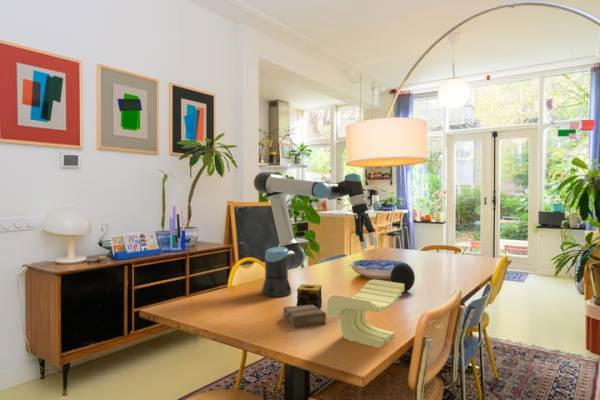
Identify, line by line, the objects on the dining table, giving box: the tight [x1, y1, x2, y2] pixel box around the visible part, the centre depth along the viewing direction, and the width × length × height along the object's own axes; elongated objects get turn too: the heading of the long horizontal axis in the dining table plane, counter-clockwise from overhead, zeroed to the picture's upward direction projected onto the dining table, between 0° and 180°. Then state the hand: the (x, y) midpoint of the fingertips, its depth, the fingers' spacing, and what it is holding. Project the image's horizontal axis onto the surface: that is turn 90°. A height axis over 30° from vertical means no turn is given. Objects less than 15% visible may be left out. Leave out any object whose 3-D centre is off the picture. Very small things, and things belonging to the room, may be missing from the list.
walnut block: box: [283, 304, 327, 330], centre depth 162 cm, size 13×13×5 cm
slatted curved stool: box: [326, 278, 405, 348], centre depth 144 cm, size 30×16×18 cm, turn 144°
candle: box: [296, 283, 323, 310], centre depth 179 cm, size 10×10×10 cm
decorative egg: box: [390, 262, 416, 293], centre depth 210 cm, size 12×12×15 cm
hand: (369, 247), depth 193 cm, fingers open, 13 cm apart
